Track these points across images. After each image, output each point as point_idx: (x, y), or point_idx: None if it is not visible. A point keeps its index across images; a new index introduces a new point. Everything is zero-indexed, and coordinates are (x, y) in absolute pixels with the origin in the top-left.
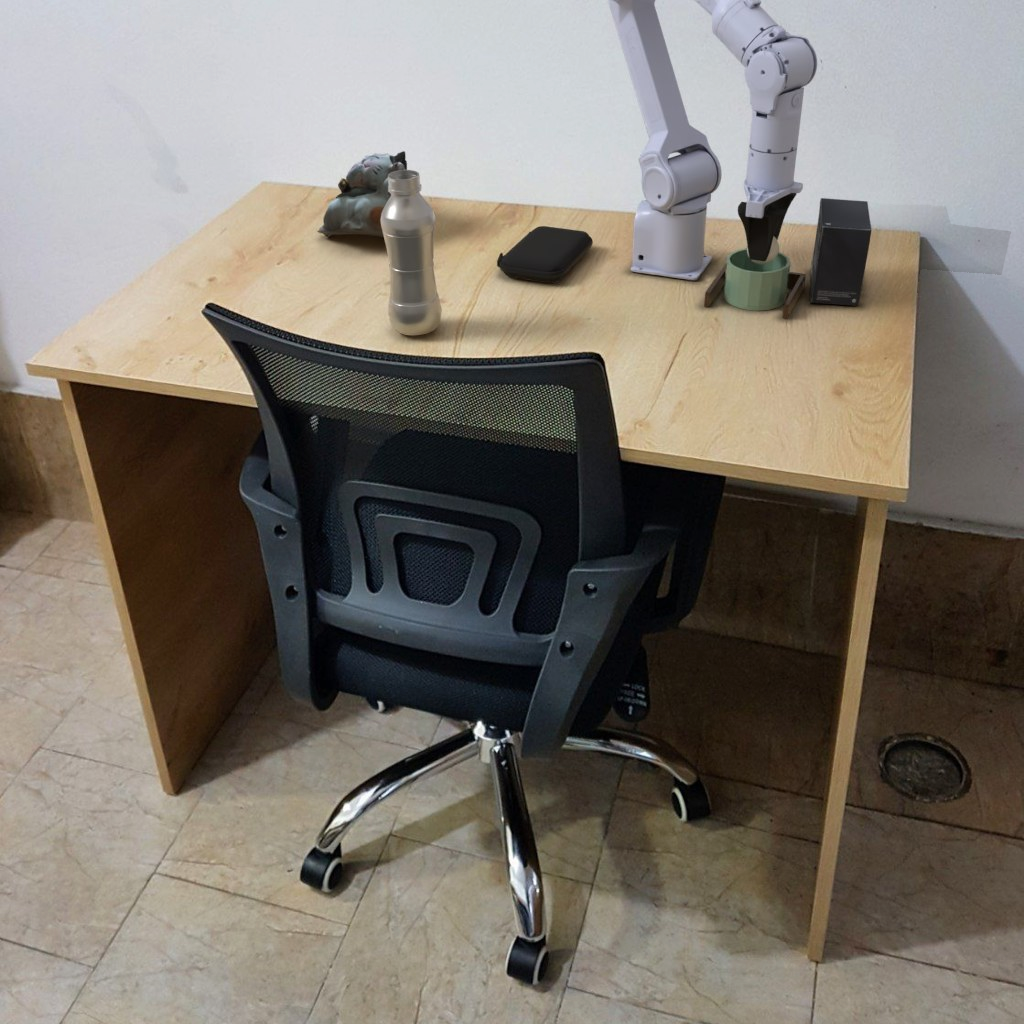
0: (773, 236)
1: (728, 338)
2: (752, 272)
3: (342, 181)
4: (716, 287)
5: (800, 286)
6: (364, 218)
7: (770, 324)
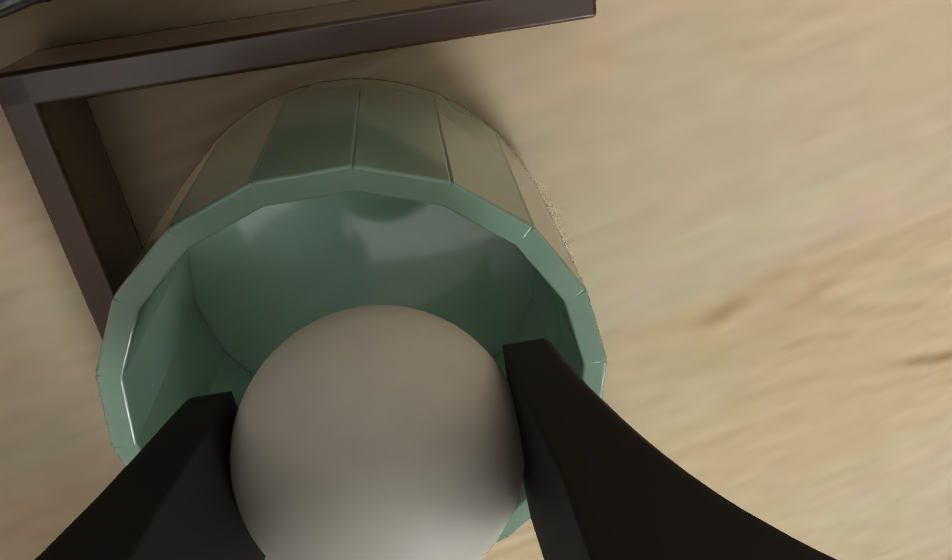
0: (564, 462)
1: (919, 174)
2: (602, 350)
3: None
4: None
5: (187, 39)
6: None
7: (677, 37)
